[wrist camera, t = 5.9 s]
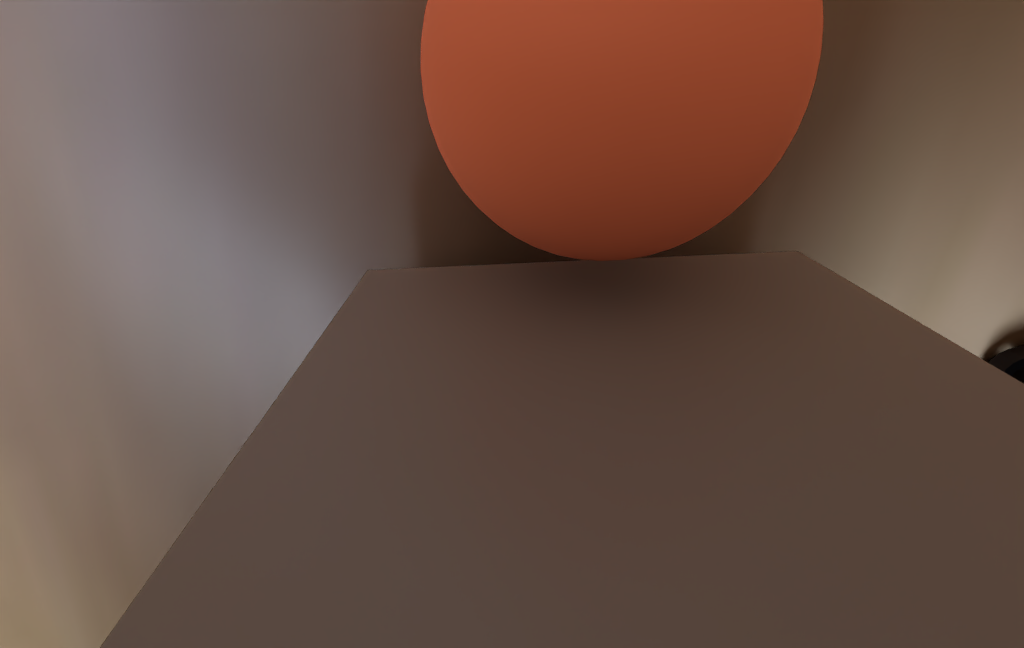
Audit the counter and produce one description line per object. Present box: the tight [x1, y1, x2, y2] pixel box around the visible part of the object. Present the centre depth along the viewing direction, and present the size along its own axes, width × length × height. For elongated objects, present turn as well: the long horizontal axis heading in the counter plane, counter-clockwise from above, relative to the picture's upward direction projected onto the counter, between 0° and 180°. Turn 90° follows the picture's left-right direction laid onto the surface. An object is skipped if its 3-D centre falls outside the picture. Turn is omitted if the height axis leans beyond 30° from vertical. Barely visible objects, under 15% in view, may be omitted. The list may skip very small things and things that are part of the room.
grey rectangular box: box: [100, 251, 1024, 648], centre depth 7 cm, size 8×8×9 cm
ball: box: [421, 0, 823, 261], centre depth 7 cm, size 5×5×5 cm
